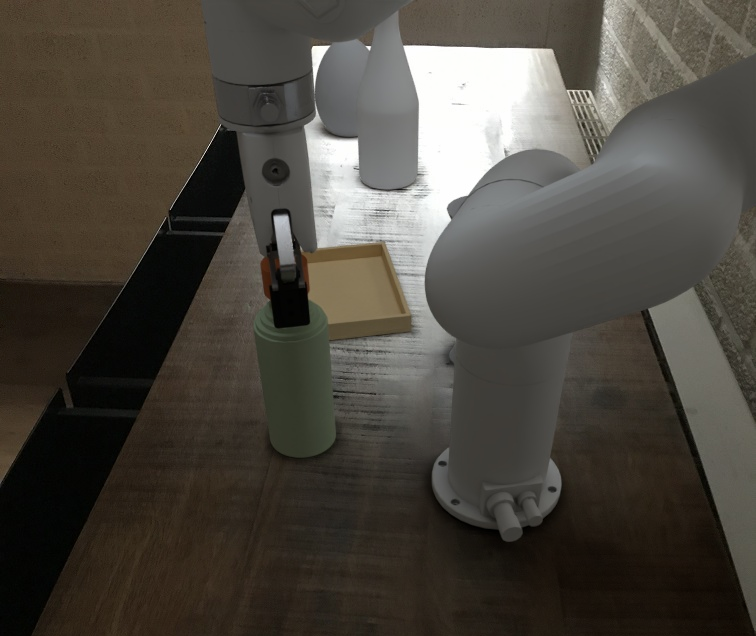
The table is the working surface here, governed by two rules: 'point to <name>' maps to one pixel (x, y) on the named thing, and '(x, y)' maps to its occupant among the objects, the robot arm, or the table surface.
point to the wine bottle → (387, 113)
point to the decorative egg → (340, 86)
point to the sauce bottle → (296, 383)
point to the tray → (357, 290)
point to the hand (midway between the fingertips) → (288, 301)
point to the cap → (266, 271)
